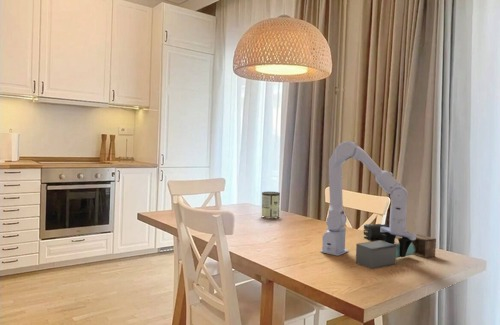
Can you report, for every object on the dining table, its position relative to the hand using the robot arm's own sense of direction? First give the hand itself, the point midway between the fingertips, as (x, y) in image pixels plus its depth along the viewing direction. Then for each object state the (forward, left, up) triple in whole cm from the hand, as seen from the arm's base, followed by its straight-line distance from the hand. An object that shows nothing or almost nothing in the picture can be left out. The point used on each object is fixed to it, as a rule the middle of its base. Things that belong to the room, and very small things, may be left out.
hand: (396, 254), depth 144 cm
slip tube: (-4, +1, -1) cm, 4 cm away
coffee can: (+32, +83, -2) cm, 89 cm away
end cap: (+26, +18, -2) cm, 31 cm away
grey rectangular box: (-10, +4, -2) cm, 11 cm away
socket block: (+14, -5, -2) cm, 15 cm away
